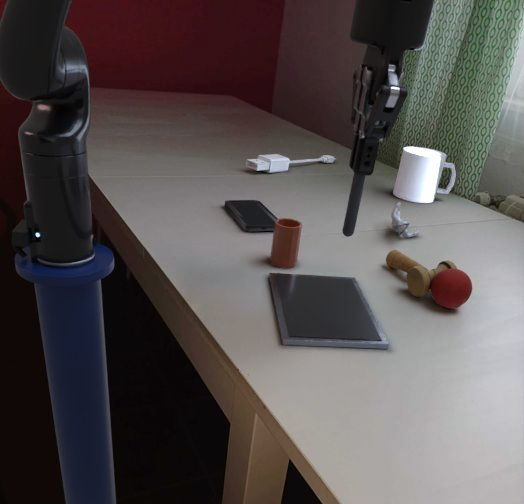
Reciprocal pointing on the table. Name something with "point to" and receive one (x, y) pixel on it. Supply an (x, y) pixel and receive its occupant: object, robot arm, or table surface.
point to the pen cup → (285, 242)
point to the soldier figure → (400, 223)
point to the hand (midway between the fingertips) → (360, 171)
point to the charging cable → (280, 162)
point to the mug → (421, 174)
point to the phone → (251, 215)
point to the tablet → (324, 312)
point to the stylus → (353, 204)
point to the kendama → (434, 280)
